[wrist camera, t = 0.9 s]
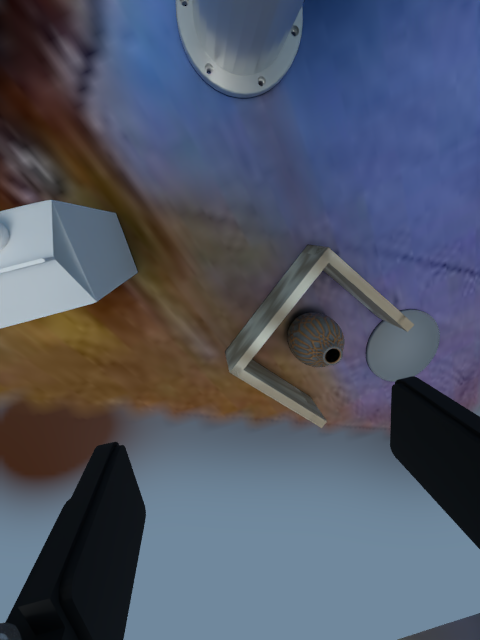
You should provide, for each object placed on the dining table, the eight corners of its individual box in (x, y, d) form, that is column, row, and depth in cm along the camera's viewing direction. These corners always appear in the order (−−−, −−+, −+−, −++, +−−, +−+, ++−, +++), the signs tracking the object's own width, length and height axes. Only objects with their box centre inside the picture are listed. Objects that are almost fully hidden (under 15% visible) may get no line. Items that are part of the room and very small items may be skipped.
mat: (405, 293, 40) (407, 294, 40) (450, 336, 44) (453, 337, 43) (350, 355, 42) (352, 357, 42) (398, 391, 46) (400, 393, 45)
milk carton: (138, 272, 34) (73, 319, 16) (81, 287, 33) (-52, 353, 16) (116, 212, 31) (10, 189, 14) (54, 228, 31) (-140, 225, 13)
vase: (273, 323, 39) (294, 348, 30) (315, 298, 38) (348, 316, 30) (294, 359, 41) (319, 392, 33) (334, 336, 41) (369, 363, 32)
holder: (307, 244, 36) (328, 247, 30) (384, 311, 41) (414, 324, 35) (224, 351, 39) (229, 372, 33) (305, 402, 44) (321, 427, 38)
